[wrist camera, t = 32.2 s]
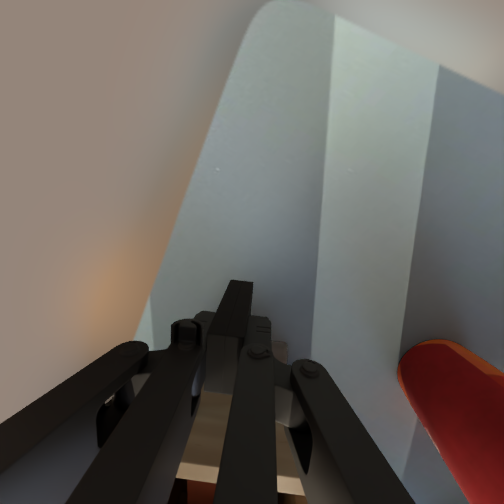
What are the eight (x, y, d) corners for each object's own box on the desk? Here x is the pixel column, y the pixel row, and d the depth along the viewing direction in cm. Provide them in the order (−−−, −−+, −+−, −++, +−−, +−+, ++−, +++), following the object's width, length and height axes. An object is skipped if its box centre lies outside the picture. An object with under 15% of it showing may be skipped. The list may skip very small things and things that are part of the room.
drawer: (172, 296, 19) (110, 360, 12) (317, 311, 19) (350, 388, 11) (170, 482, 24) (123, 616, 16) (289, 498, 23) (299, 646, 16)
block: (204, 413, 20) (186, 474, 16) (260, 419, 20) (258, 483, 16) (203, 457, 21) (186, 526, 17) (256, 463, 21) (253, 535, 17)
